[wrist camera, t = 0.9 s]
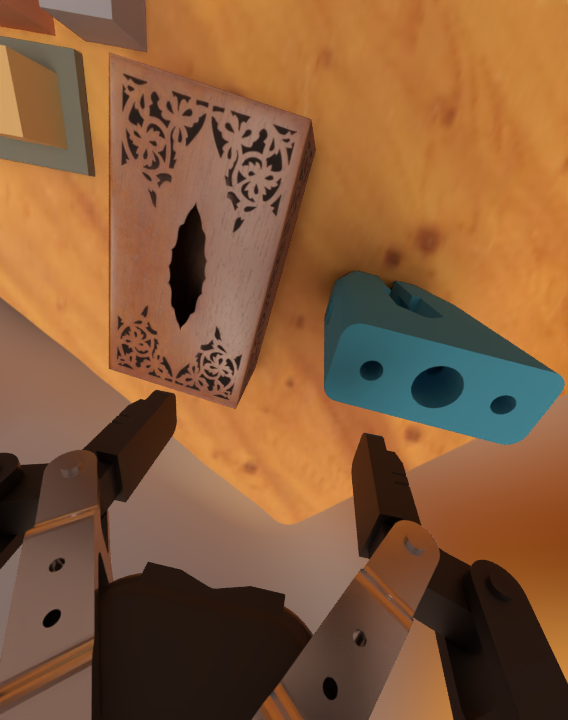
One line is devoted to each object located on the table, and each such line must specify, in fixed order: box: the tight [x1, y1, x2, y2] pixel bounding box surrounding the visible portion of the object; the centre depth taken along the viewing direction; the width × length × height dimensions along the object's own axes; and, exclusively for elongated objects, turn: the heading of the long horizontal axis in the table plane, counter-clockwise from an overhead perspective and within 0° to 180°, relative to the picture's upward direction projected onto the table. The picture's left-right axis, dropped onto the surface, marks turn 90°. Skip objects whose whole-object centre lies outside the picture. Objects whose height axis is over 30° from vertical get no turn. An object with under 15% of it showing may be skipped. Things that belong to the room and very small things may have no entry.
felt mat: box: [0, 36, 95, 176], centre depth 29 cm, size 10×14×1 cm
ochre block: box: [0, 45, 68, 150], centre depth 27 cm, size 6×6×5 cm
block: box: [324, 271, 565, 445], centre depth 25 cm, size 12×5×20 cm, turn 78°
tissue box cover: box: [109, 52, 316, 409], centre depth 30 cm, size 26×14×10 cm, turn 164°
